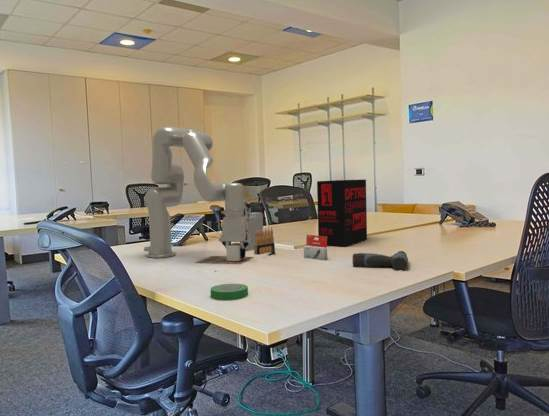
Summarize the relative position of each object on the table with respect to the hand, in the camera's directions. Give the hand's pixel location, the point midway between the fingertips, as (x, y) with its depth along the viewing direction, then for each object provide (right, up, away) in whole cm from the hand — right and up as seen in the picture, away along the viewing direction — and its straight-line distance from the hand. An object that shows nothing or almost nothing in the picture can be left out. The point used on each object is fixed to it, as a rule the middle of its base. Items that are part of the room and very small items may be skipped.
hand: (236, 257), depth 186 cm
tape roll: (+2, -6, -51) cm, 51 cm away
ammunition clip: (+11, -1, +17) cm, 20 cm away
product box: (+51, +2, +47) cm, 70 cm away
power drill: (+56, -2, -13) cm, 58 cm away
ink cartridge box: (+33, -1, +5) cm, 33 cm away
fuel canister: (+4, 0, +37) cm, 37 cm away
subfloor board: (-5, -2, +2) cm, 5 cm away
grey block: (0, -1, 0) cm, 1 cm away
